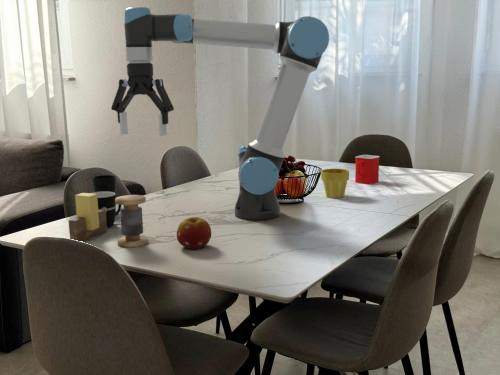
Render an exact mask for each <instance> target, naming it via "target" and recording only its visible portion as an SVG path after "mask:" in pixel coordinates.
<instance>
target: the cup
mask: <svg viewBox="0 0 500 375" xmlns="http://www.w3.org/2000/svg"><path fill="white" fill-rule="evenodd" d="M116 178H117V177H116V176H115V175H113V174H102V175H100V174H99V175H96V176H93V177H92V182H93V189H94V192H114V193H115V194H116Z"/></svg>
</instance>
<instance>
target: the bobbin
mask: <svg viewBox="0 0 500 375" xmlns="http://www.w3.org/2000/svg"><path fill="white" fill-rule="evenodd" d="M116 197H117V198H115V203H116V205H117V206H118V205H121V206H123V207H121V209H120V212H119V214H120V231H121V235H122V237H120V238H118V239H117V245H118V246H119V247H120V248H130V249H131V248H137V247H138V248H139V247H143V246H146V245H148V243H149V238H148V237H147V236H144V235H142V234H143V233H144V221H143V207H141V206H139V205H141V204H144V203H146V201H147V197H146V196H145V195H141V194H129V195H128V194H127V195H120V196H116Z"/></svg>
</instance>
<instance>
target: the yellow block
mask: <svg viewBox="0 0 500 375" xmlns="http://www.w3.org/2000/svg"><path fill="white" fill-rule="evenodd" d="M92 193H93V192H90V193H89V192H88V193H87V192H81V193H78V194H75V195H74V196H75V211H76V217H85V223H86V230H94V229H97V228H99V215H98V200H97V194H92Z"/></svg>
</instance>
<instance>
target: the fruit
mask: <svg viewBox="0 0 500 375" xmlns="http://www.w3.org/2000/svg"><path fill="white" fill-rule="evenodd" d="M211 238H212V228H211V226H210V223H209V222H208V221H207V220H206V219H205V218H203V217H199V216H192V217H188V218H187V217H186V218H185V219H183V220H182V221H181V222H180V224H178V226H177V230H176V240H177V243H179V245H181V246H182V247H185V248H188V249H193V250H195V249H202V248H204V247H205V246H207V245H208V244H209V242H210V240H211Z"/></svg>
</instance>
